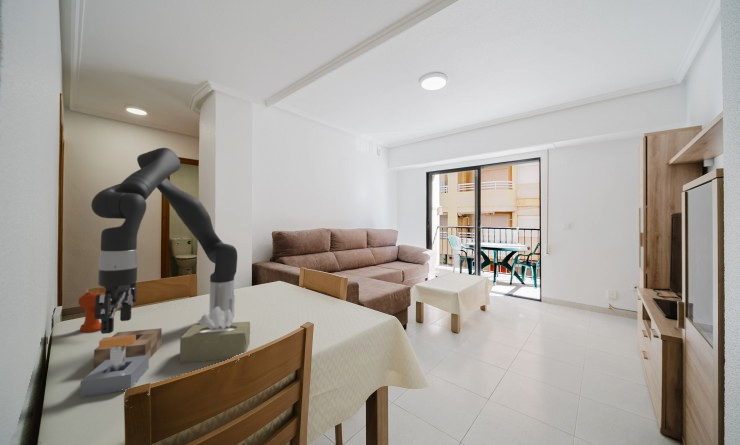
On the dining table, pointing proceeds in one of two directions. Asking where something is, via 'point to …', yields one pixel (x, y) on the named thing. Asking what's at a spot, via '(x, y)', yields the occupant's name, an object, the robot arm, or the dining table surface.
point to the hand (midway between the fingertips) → (117, 326)
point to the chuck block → (143, 346)
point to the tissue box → (215, 338)
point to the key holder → (114, 376)
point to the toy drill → (89, 312)
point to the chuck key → (117, 350)
